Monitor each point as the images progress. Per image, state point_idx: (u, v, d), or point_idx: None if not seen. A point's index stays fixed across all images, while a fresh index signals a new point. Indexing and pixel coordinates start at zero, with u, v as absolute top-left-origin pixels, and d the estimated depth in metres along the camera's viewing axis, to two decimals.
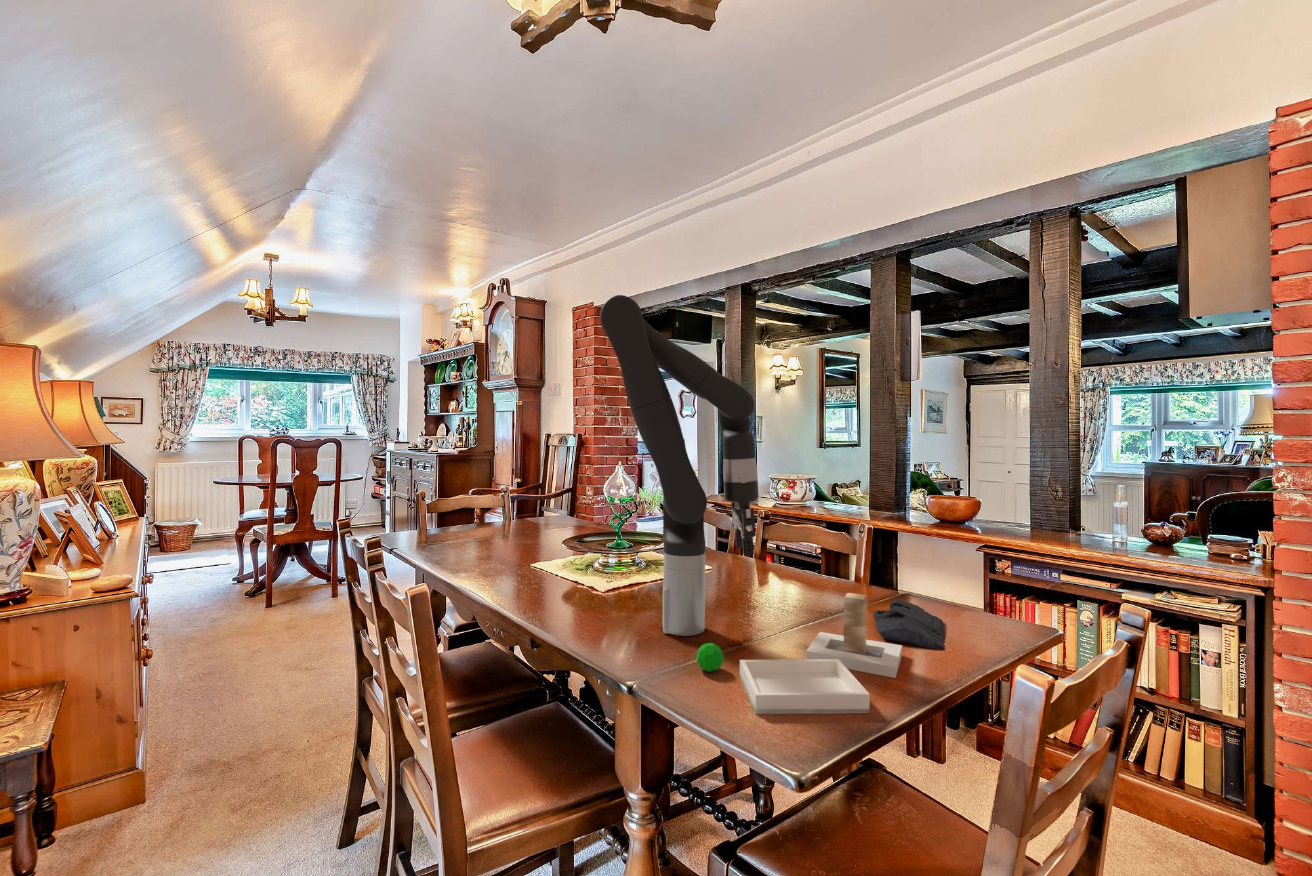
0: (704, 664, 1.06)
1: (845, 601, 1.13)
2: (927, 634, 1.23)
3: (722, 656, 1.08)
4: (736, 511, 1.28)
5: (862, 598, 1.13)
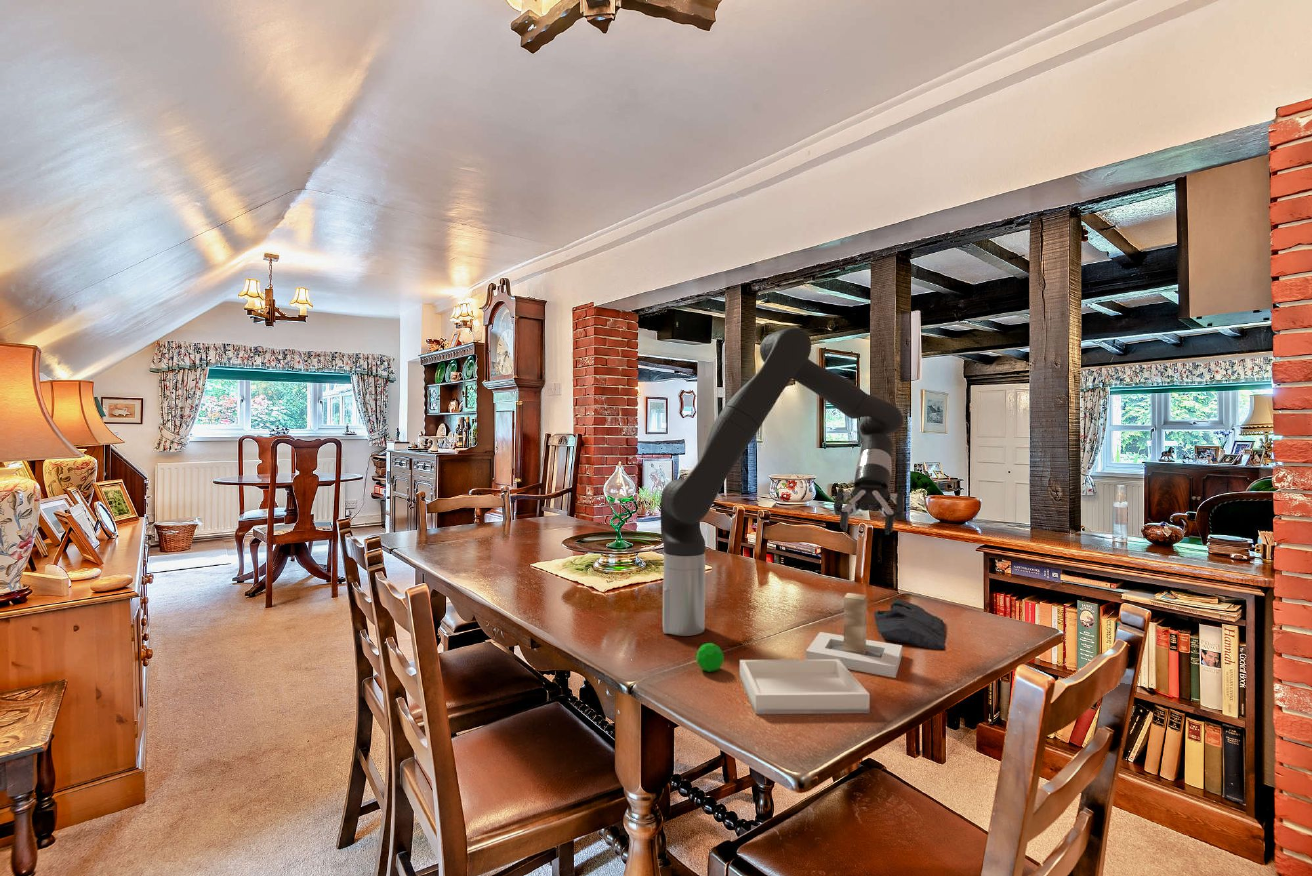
0: (704, 664, 1.06)
1: (845, 601, 1.13)
2: (928, 634, 1.23)
3: (722, 656, 1.08)
4: None
5: (862, 598, 1.13)
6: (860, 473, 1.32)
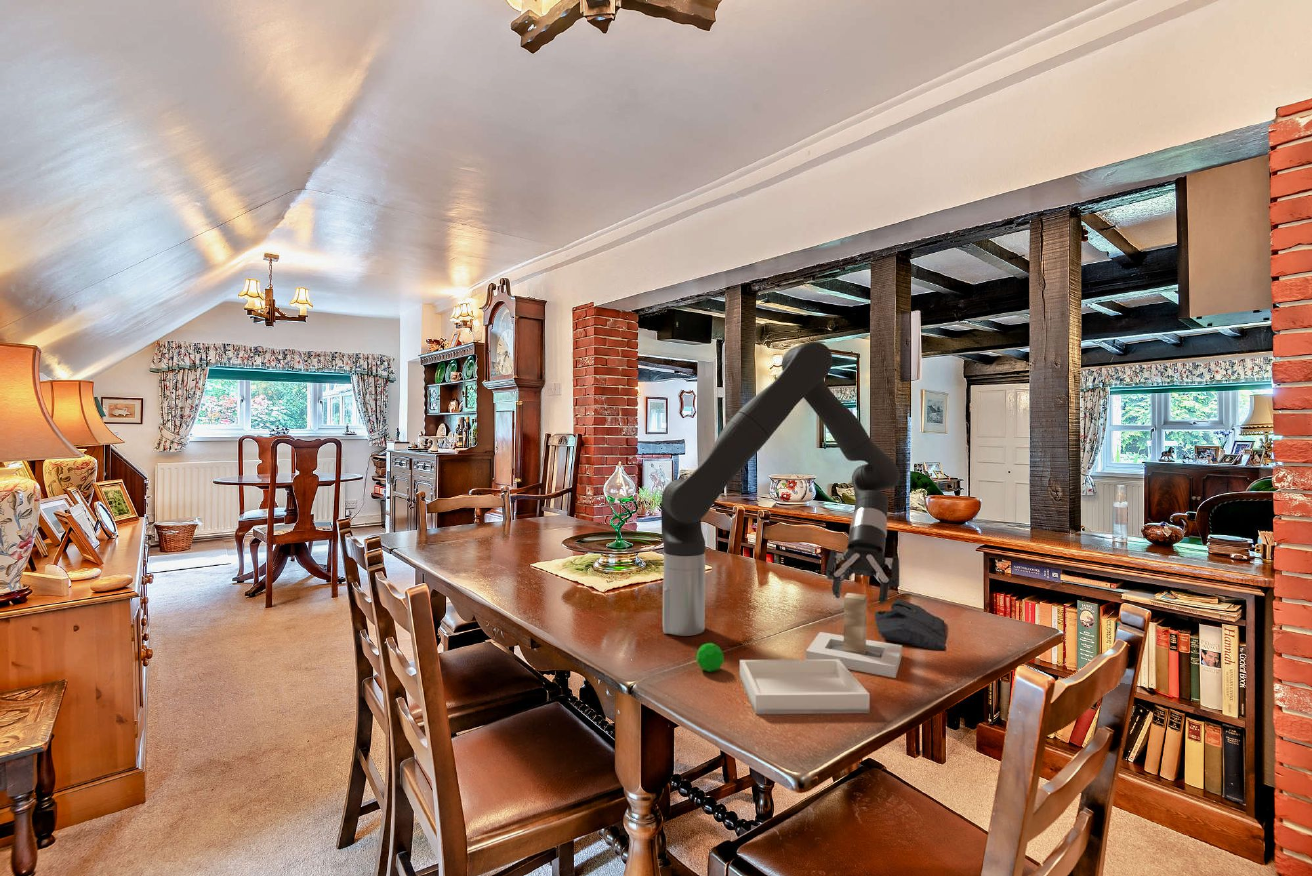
0: (704, 664, 1.06)
1: (845, 601, 1.13)
2: (928, 635, 1.22)
3: (722, 656, 1.08)
4: None
5: (862, 598, 1.13)
6: (854, 534, 1.25)
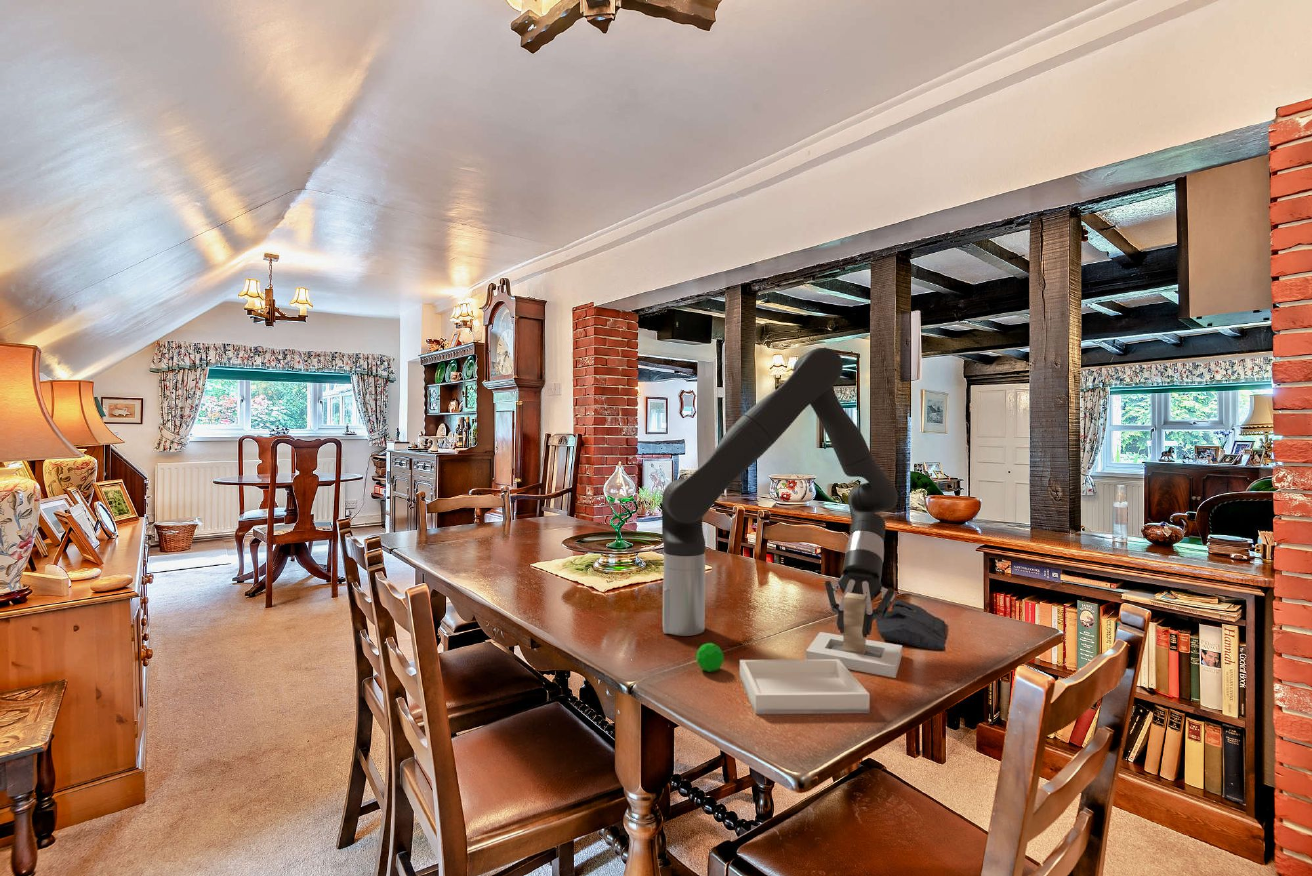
0: (704, 664, 1.06)
1: (845, 601, 1.13)
2: (928, 635, 1.22)
3: (722, 656, 1.08)
4: None
5: (862, 598, 1.13)
6: (849, 560, 1.20)
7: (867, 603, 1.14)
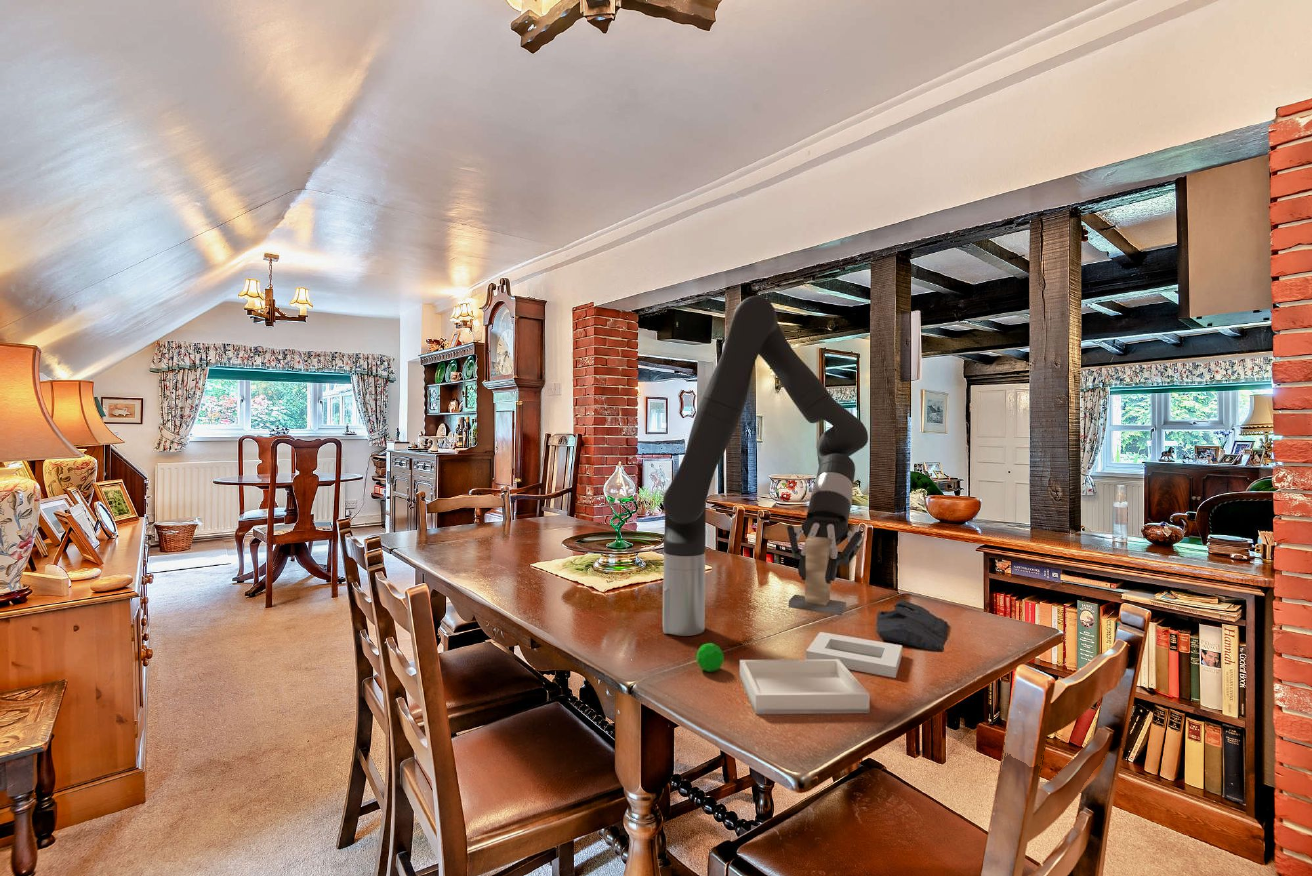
0: (704, 664, 1.06)
1: (807, 544, 1.02)
2: (926, 635, 1.22)
3: (722, 656, 1.08)
4: None
5: (826, 540, 1.01)
6: (814, 502, 1.09)
7: (832, 547, 1.03)
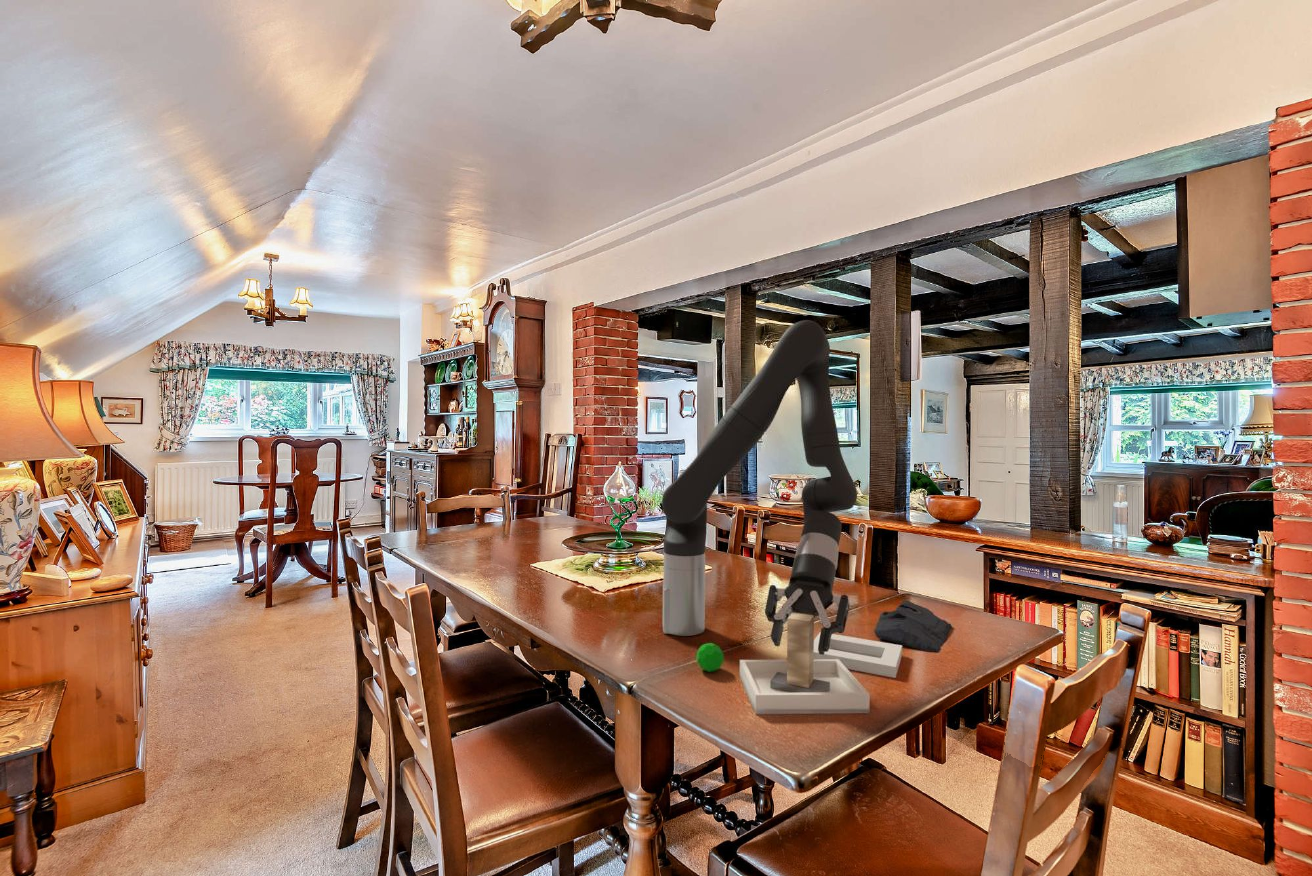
0: (704, 664, 1.06)
1: (788, 623, 0.98)
2: (923, 636, 1.22)
3: (722, 656, 1.08)
4: (817, 593, 1.01)
5: (808, 619, 0.97)
6: (797, 566, 1.05)
7: (822, 615, 0.98)
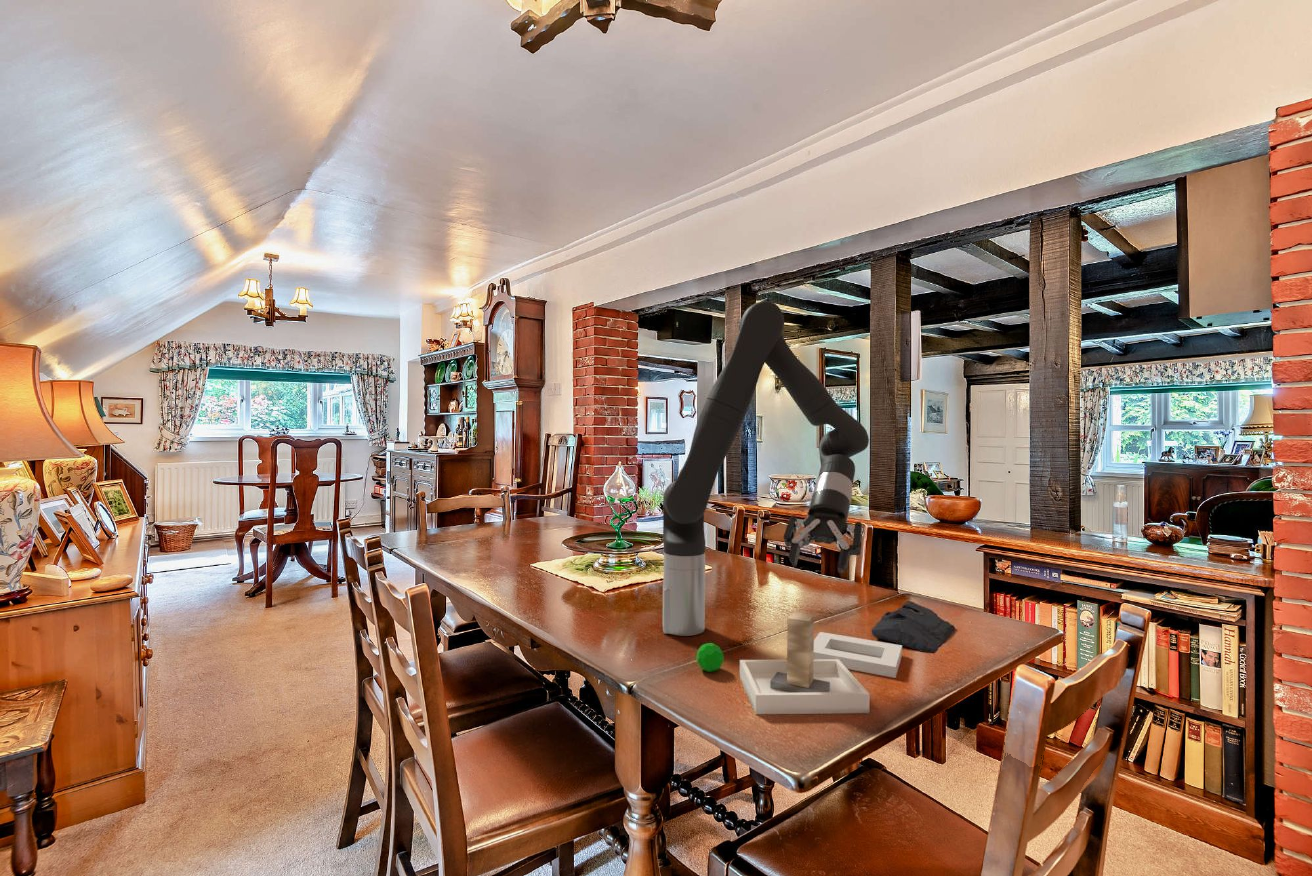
0: (704, 664, 1.06)
1: (788, 623, 0.98)
2: (920, 636, 1.21)
3: (722, 656, 1.08)
4: None
5: (808, 619, 0.97)
6: (815, 499, 1.16)
7: (840, 539, 1.10)
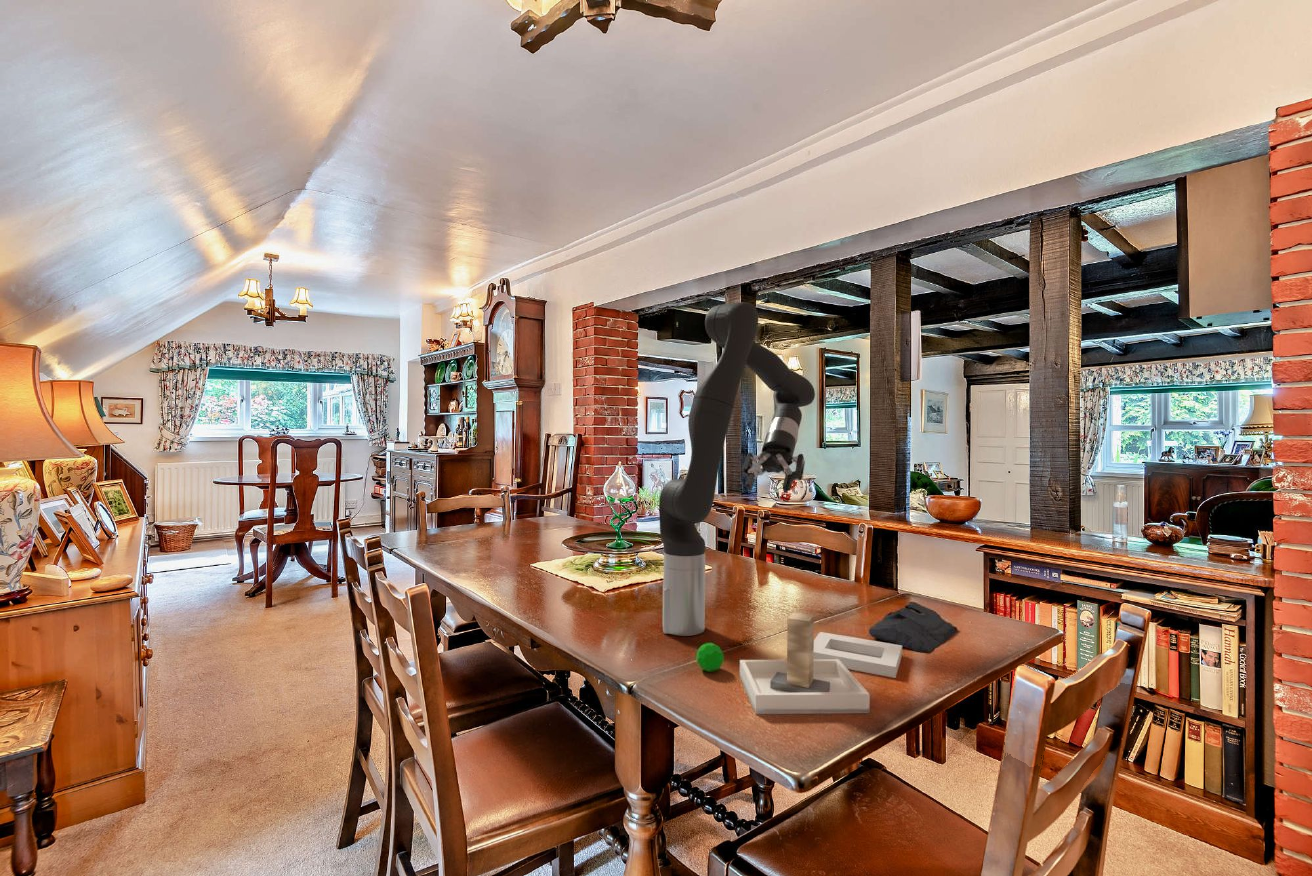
0: (704, 664, 1.06)
1: (788, 623, 0.98)
2: (918, 637, 1.21)
3: (722, 656, 1.08)
4: None
5: (808, 619, 0.97)
6: (767, 438, 1.42)
7: (786, 467, 1.36)
